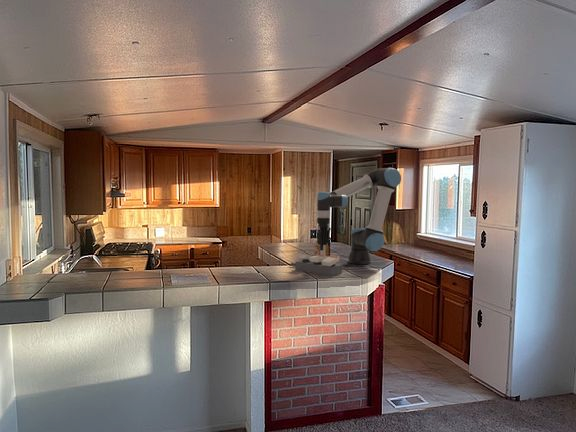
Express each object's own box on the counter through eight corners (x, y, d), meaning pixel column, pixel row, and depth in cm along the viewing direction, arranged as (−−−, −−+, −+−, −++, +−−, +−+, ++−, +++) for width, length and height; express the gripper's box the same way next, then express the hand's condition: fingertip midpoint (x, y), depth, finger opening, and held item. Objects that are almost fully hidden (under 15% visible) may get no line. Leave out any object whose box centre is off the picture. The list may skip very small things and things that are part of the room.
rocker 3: (331, 258, 270) (330, 254, 269) (339, 260, 266) (339, 255, 265) (321, 265, 263) (321, 260, 262) (330, 266, 259) (329, 262, 258)
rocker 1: (307, 259, 281) (308, 254, 282) (315, 260, 277) (315, 255, 278) (297, 257, 274) (298, 252, 274) (305, 258, 270) (306, 254, 270)
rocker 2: (319, 259, 276) (319, 254, 275) (327, 260, 272) (327, 255, 272) (309, 261, 268) (309, 256, 268) (317, 262, 264) (317, 257, 264)
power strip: (296, 265, 289) (296, 255, 288) (341, 273, 266) (342, 263, 265) (285, 267, 280) (285, 258, 280) (331, 276, 258) (331, 266, 257)
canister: (312, 264, 291) (312, 234, 289) (326, 263, 296) (327, 233, 294) (318, 267, 283) (319, 235, 281) (333, 265, 288) (334, 235, 286)
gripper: (324, 215, 278) (324, 253, 281) (311, 217, 268) (311, 256, 271) (334, 216, 273) (334, 254, 276) (321, 218, 263) (321, 257, 266)
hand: (322, 255), depth 273 cm, fingers closed
